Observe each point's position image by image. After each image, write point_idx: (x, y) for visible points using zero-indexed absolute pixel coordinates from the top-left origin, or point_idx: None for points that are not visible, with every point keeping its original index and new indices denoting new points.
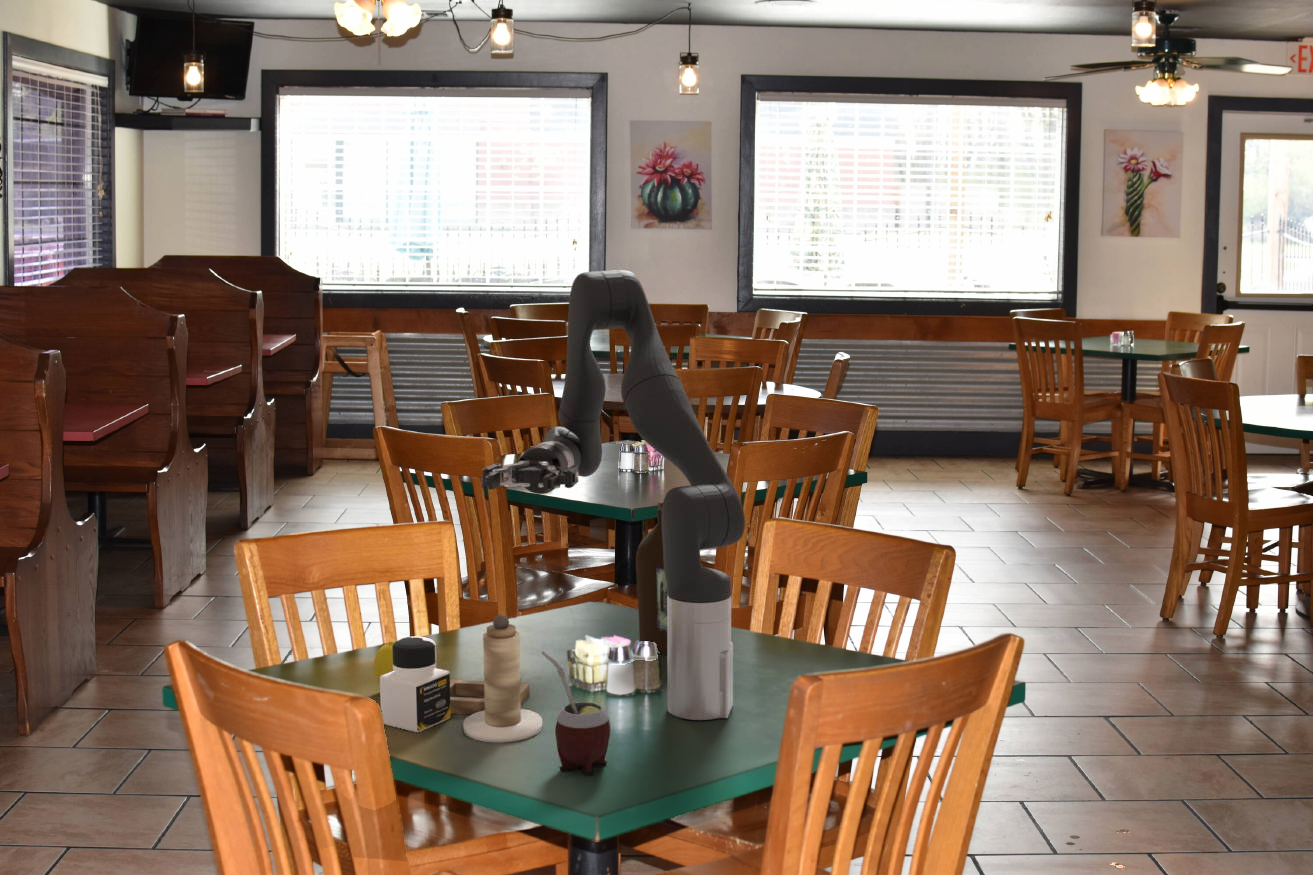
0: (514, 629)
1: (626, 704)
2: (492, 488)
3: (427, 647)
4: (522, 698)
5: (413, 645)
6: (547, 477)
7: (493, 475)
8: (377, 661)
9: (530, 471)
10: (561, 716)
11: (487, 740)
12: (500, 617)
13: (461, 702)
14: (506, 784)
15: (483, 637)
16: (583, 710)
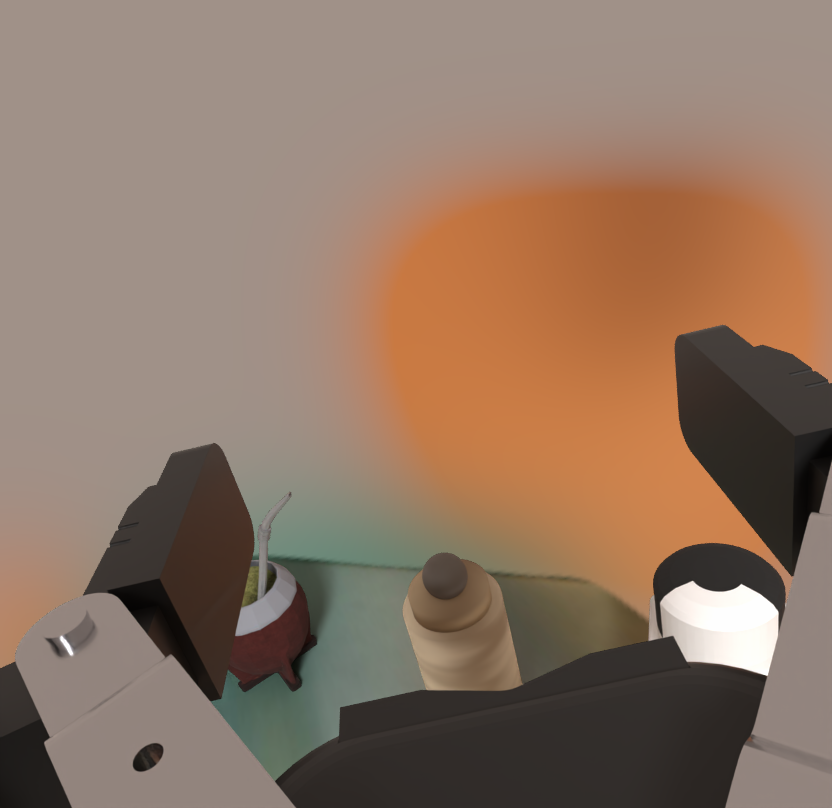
0: (408, 594)
1: None
2: (684, 430)
3: (656, 574)
4: None
5: (685, 552)
6: (179, 452)
7: (687, 343)
8: None
9: (492, 704)
10: (282, 567)
11: None
12: (437, 554)
13: None
14: (384, 577)
15: (491, 578)
16: (245, 596)
